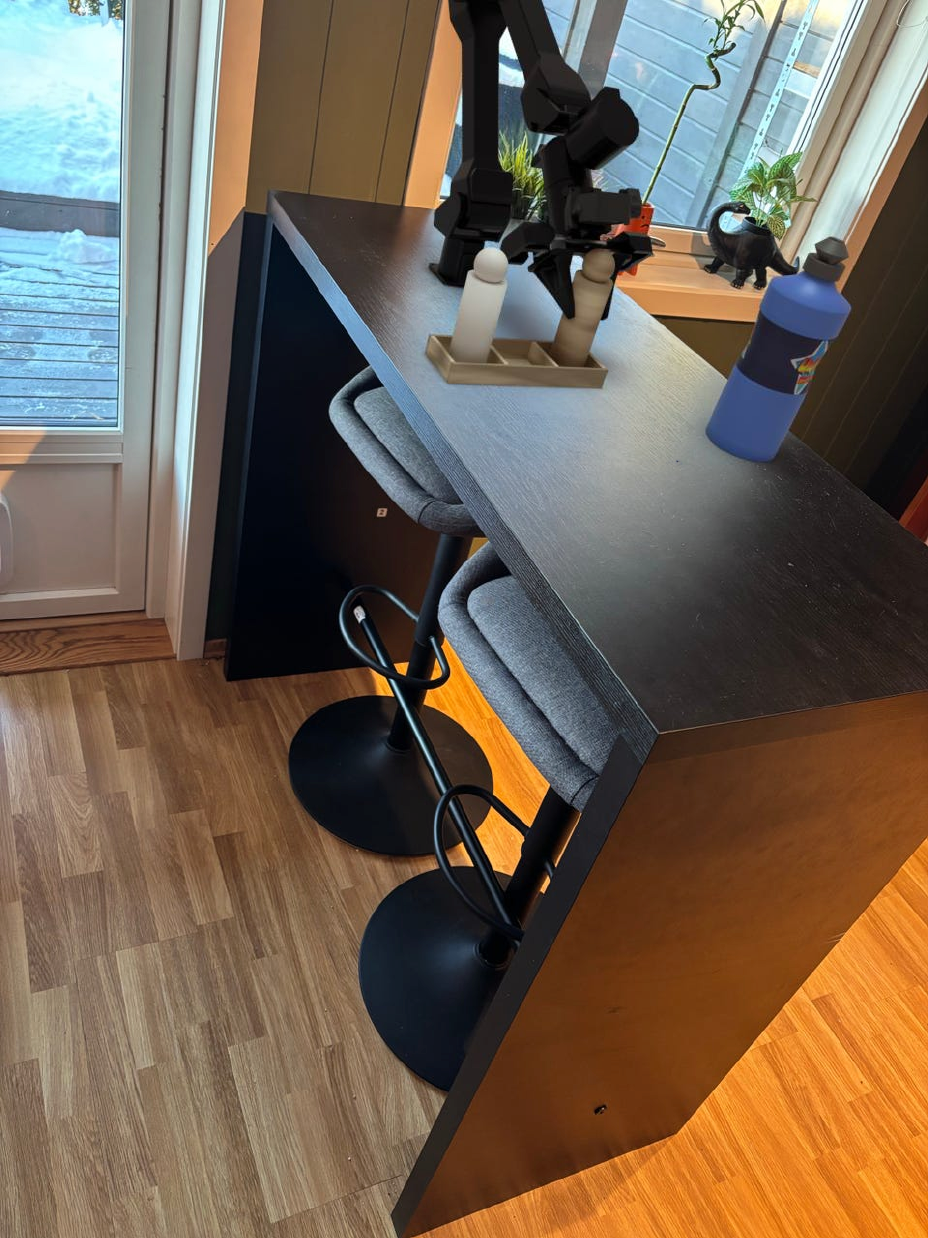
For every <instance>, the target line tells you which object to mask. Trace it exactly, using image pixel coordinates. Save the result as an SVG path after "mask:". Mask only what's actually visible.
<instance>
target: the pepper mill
mask: <svg viewBox="0 0 928 1238" xmlns="http://www.w3.org/2000/svg"><path fill="white" fill-rule="evenodd" d="M583 257H584V258H582V262H581V269H577V270H576V271H575V272H574V276H573V280H572V286H573V293H574V301H575V317H574V318H573V319H571V320H568V319H567V318H566V316H565V315H564V313H563V312H562V314H561V316H560V320H559V323H558V325H557V329H556V332H555V335H554V337H553V338H554V339H553V340H552V341H553V344H552V347H551V350H550V353H549V357H550V358H551V359H552V360H553V361H554V362H555V363H556V364H557V365H558V366H561V367H584V366H585V363H586V360H587V357H588V354H589V352H590V351H591V348H592V346H593V342H594V340H595V336H596V334H597V332H598V329H599V326H600V322H601V317H602V314H603V311H604V309H605V306H606V303H607V300H608V297H609V294H610V291H611V289H612V286H613V282H612V280H611V279H609V278H610V277H611V276H612V274H613V272H614V269H615V262H614V258H613V256H612V255H611V254H610V253H609V252H608V251H607V250H604V249H594V250H592V251H590V252H589V253H587V255H586V256H583Z"/></svg>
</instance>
